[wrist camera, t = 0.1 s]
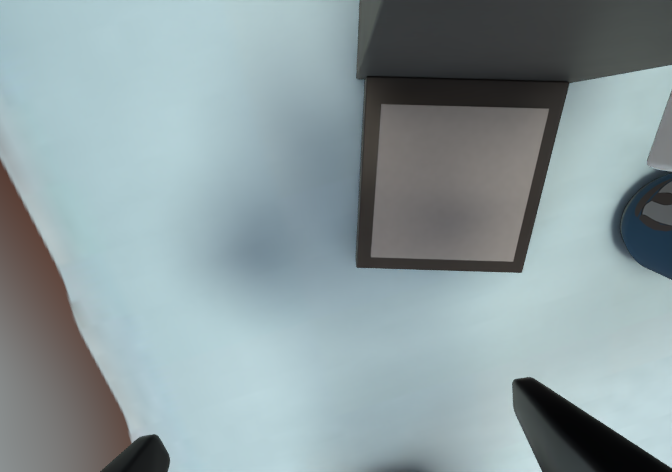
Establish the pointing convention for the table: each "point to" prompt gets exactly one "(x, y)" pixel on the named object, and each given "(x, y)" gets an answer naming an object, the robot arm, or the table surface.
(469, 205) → the coffee maker
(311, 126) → the table surface
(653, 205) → the soda can
